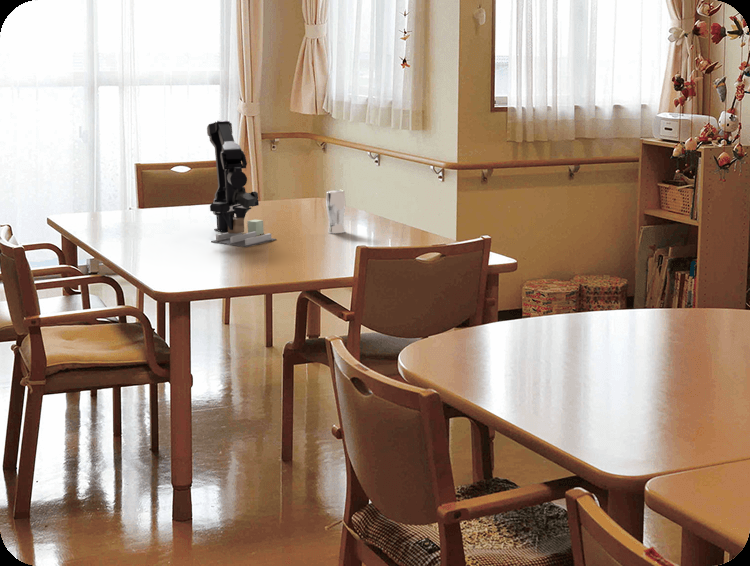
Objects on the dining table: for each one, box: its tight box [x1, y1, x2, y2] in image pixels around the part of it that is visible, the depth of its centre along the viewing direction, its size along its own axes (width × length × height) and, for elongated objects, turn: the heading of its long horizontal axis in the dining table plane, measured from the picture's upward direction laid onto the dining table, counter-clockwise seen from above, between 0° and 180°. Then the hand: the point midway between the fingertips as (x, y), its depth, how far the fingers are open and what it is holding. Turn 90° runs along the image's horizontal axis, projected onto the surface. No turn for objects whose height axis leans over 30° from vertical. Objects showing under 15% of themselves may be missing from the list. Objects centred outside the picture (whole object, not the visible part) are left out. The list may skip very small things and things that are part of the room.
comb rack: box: [210, 232, 277, 248], centre depth 332 cm, size 17×15×2 cm
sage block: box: [246, 219, 265, 236], centre depth 344 cm, size 4×4×5 cm
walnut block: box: [228, 216, 245, 234], centre depth 333 cm, size 4×4×5 cm
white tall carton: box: [325, 189, 346, 235], centre depth 344 cm, size 7×7×15 cm
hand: (235, 228), depth 333 cm, fingers closed on walnut block, 4 cm apart
